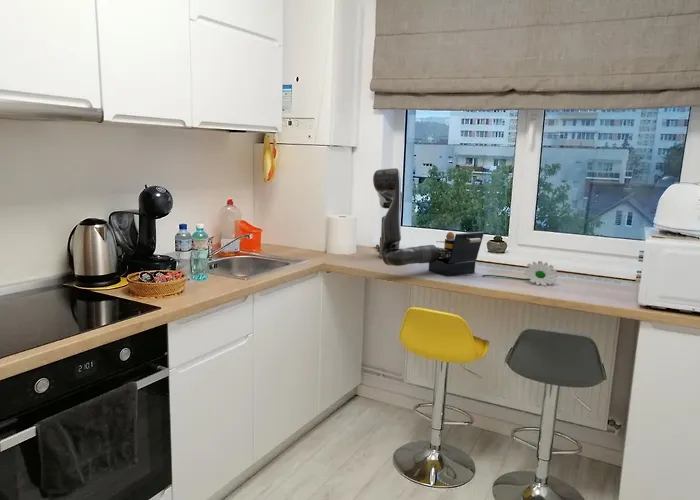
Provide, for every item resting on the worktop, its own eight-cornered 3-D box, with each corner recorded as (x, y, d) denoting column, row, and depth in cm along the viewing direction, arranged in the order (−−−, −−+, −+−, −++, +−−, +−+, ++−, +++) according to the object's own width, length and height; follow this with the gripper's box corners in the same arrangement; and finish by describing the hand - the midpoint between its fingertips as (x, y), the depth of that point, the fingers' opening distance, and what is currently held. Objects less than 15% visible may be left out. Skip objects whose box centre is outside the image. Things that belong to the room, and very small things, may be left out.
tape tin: (440, 268, 238) (442, 239, 236) (449, 267, 241) (451, 238, 239) (448, 270, 234) (450, 240, 231) (458, 269, 236) (460, 240, 234)
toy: (462, 262, 257) (464, 231, 254) (463, 264, 252) (465, 233, 250) (434, 261, 258) (436, 230, 255) (434, 263, 254) (436, 231, 251)
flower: (483, 260, 232) (557, 259, 221) (484, 269, 236) (557, 268, 225) (480, 282, 223) (558, 282, 212) (482, 291, 226) (558, 291, 216)
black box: (428, 270, 238) (429, 258, 237) (454, 267, 246) (455, 256, 245) (447, 276, 227) (448, 264, 226) (474, 273, 235) (475, 261, 234)
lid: (455, 233, 221) (462, 237, 218) (482, 231, 229) (490, 235, 226) (448, 262, 226) (454, 267, 223) (474, 259, 235) (481, 264, 231)
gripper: (436, 248, 222) (466, 245, 231) (414, 243, 234) (444, 240, 243) (435, 266, 223) (465, 262, 232) (414, 259, 235) (443, 257, 244)
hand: (454, 251), depth 237 cm, fingers closed on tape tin, 5 cm apart
